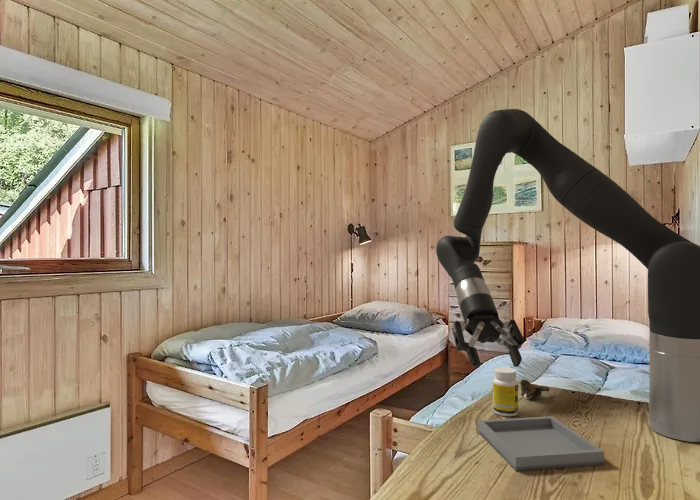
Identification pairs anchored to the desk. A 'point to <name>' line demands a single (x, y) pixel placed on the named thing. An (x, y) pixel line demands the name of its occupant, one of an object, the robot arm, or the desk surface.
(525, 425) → the tray
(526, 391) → the cat figurine
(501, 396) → the supplement bottle
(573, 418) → the desk surface
